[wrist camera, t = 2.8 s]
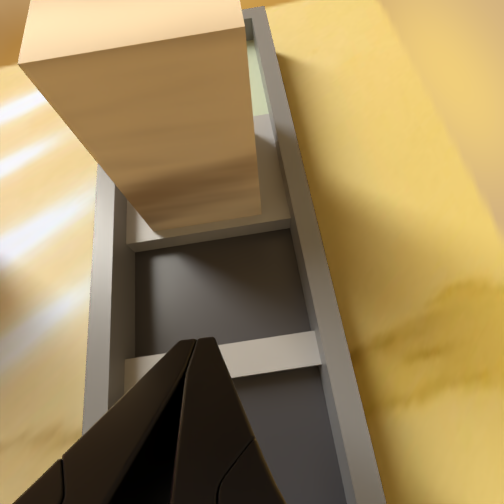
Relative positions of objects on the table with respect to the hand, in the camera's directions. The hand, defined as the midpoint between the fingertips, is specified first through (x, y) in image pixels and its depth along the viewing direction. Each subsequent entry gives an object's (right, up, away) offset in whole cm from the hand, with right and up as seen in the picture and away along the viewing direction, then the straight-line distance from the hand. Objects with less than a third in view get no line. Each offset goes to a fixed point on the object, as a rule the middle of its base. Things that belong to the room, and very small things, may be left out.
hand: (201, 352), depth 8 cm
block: (-2, +7, +11) cm, 13 cm away
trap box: (-1, +3, +11) cm, 12 cm away
